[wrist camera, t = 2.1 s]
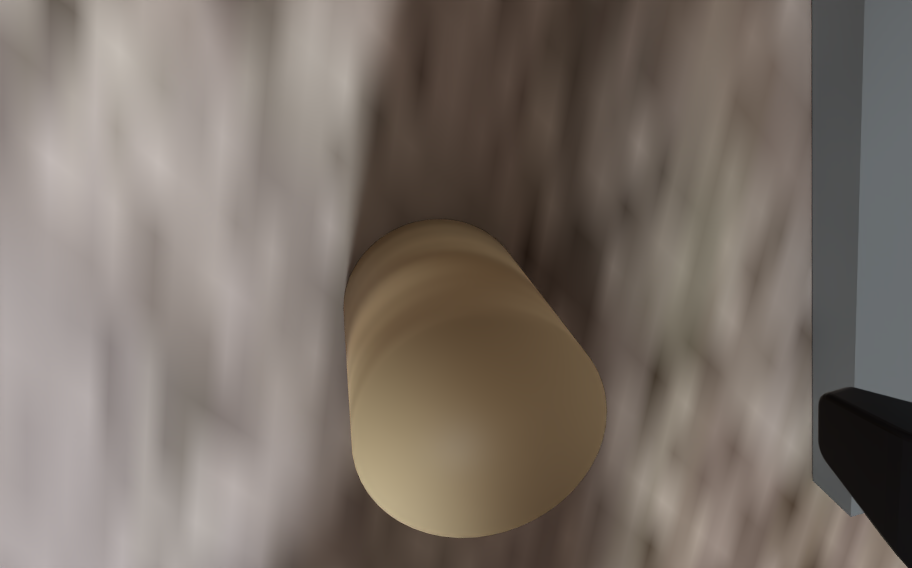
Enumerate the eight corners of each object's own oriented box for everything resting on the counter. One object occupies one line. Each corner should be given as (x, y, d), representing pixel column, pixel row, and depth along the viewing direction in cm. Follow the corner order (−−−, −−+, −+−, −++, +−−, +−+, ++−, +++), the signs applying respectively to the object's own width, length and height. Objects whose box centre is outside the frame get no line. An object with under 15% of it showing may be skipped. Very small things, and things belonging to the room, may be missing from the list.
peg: (369, 406, 16) (387, 567, 11) (321, 245, 14) (318, 355, 10) (536, 360, 16) (619, 497, 11) (506, 198, 15) (589, 282, 10)
